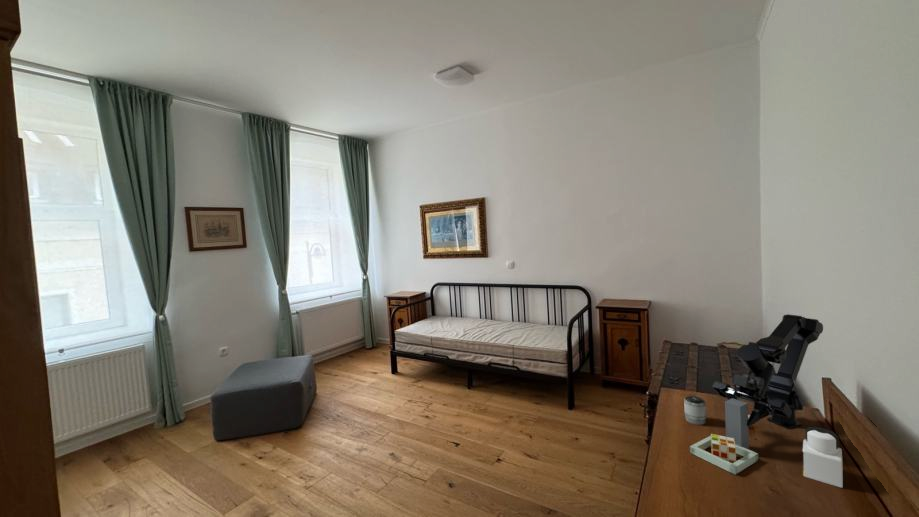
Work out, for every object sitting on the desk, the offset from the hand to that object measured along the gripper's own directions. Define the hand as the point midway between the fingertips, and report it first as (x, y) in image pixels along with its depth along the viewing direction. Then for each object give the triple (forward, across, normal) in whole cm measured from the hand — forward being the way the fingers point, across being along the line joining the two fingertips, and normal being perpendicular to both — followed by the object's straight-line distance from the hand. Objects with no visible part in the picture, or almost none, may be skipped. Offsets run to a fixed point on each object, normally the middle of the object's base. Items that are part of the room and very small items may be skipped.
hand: (739, 422), depth 108 cm
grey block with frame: (+10, 0, 0) cm, 10 cm away
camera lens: (+2, -16, +9) cm, 19 cm away
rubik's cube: (+12, 0, -1) cm, 12 cm away
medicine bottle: (+3, +17, +8) cm, 19 cm away
